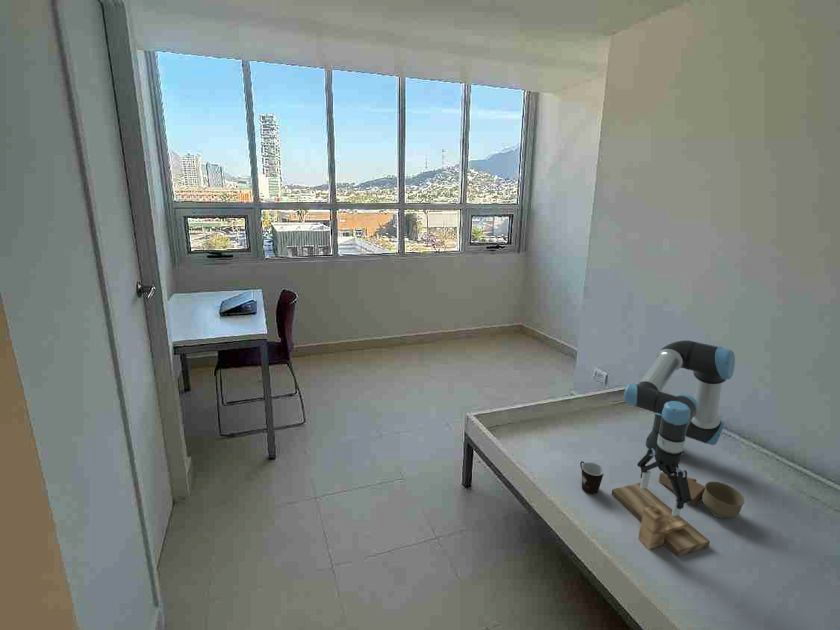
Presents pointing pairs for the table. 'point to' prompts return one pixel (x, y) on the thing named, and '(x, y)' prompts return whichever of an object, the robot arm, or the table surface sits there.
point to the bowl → (722, 499)
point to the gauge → (656, 526)
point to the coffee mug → (591, 477)
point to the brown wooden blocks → (694, 488)
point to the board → (676, 540)
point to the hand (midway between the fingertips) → (659, 500)
